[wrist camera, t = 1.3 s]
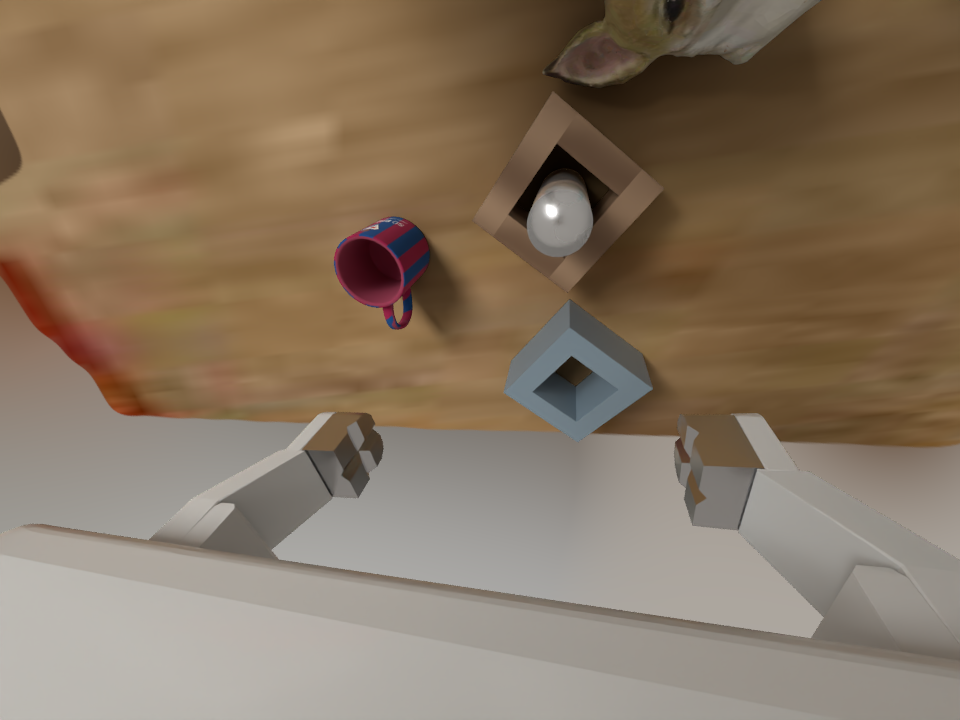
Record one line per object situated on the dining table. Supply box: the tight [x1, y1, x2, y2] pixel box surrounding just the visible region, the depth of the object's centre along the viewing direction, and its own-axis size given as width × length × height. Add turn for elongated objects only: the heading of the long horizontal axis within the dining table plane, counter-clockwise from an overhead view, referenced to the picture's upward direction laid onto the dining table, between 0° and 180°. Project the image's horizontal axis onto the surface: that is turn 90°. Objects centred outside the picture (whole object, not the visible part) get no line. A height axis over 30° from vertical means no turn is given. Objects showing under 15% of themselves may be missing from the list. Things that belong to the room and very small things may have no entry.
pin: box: [527, 168, 593, 257], centre depth 26 cm, size 4×4×11 cm
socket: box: [504, 299, 653, 442], centre depth 37 cm, size 10×10×6 cm
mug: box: [334, 217, 430, 330], centre depth 35 cm, size 7×10×7 cm
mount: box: [472, 92, 664, 293], centre depth 29 cm, size 10×10×5 cm
